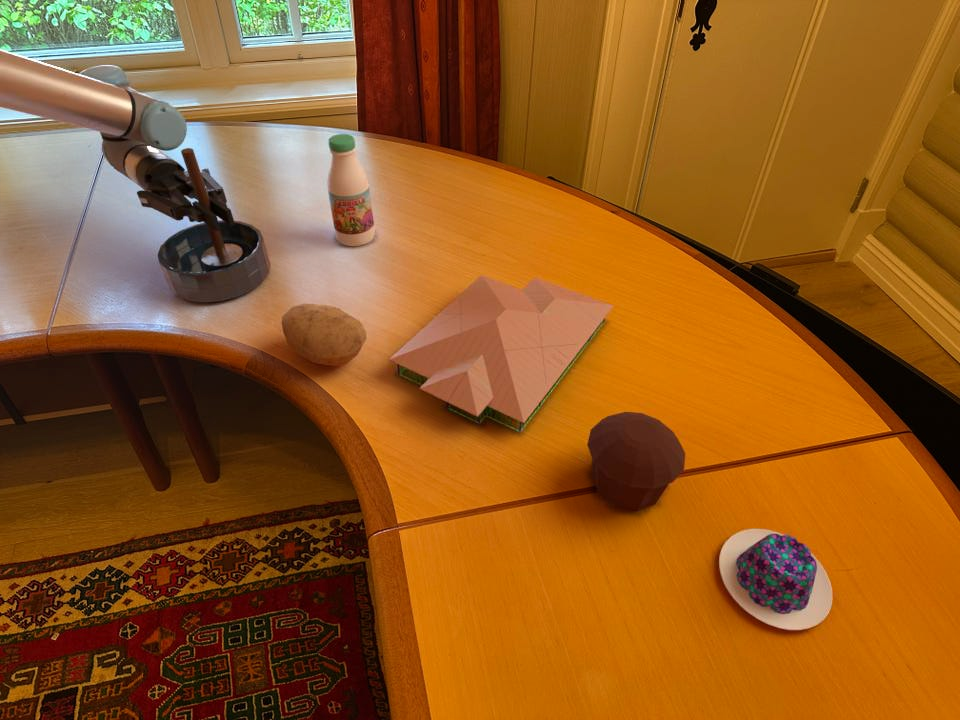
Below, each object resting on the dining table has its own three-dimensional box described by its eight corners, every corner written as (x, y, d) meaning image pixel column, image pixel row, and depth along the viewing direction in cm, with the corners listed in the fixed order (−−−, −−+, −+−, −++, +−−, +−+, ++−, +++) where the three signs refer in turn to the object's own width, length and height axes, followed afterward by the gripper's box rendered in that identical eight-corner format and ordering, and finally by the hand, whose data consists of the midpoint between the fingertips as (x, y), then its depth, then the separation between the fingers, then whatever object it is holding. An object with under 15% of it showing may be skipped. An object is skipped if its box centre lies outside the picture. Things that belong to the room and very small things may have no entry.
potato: (312, 323, 101) (302, 284, 95) (382, 349, 96) (377, 310, 90) (271, 358, 94) (259, 319, 89) (345, 388, 90) (337, 349, 84)
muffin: (684, 470, 79) (704, 420, 72) (657, 535, 72) (676, 486, 65) (600, 434, 84) (611, 383, 77) (566, 492, 77) (575, 442, 70)
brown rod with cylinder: (198, 277, 107) (153, 158, 92) (217, 256, 112) (177, 139, 97) (236, 281, 106) (197, 162, 91) (253, 259, 111) (218, 142, 96)
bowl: (151, 300, 105) (137, 269, 100) (200, 246, 117) (189, 216, 113) (246, 310, 103) (236, 279, 98) (285, 254, 115) (278, 224, 111)
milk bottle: (331, 231, 122) (314, 133, 108) (368, 223, 124) (356, 126, 110) (342, 250, 117) (324, 150, 103) (380, 242, 119) (368, 143, 105)
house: (379, 386, 90) (373, 345, 84) (494, 277, 110) (495, 239, 105) (512, 452, 81) (515, 411, 76) (610, 321, 102) (618, 281, 96)
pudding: (697, 578, 68) (709, 554, 65) (748, 514, 74) (762, 489, 71) (800, 657, 62) (820, 636, 58) (847, 580, 68) (868, 556, 65)
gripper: (201, 179, 116) (269, 223, 104) (124, 207, 108) (187, 258, 96) (189, 141, 111) (258, 183, 99) (106, 167, 103) (171, 216, 91)
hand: (223, 220), depth 98 cm, fingers closed on brown rod with cylinder, 2 cm apart
